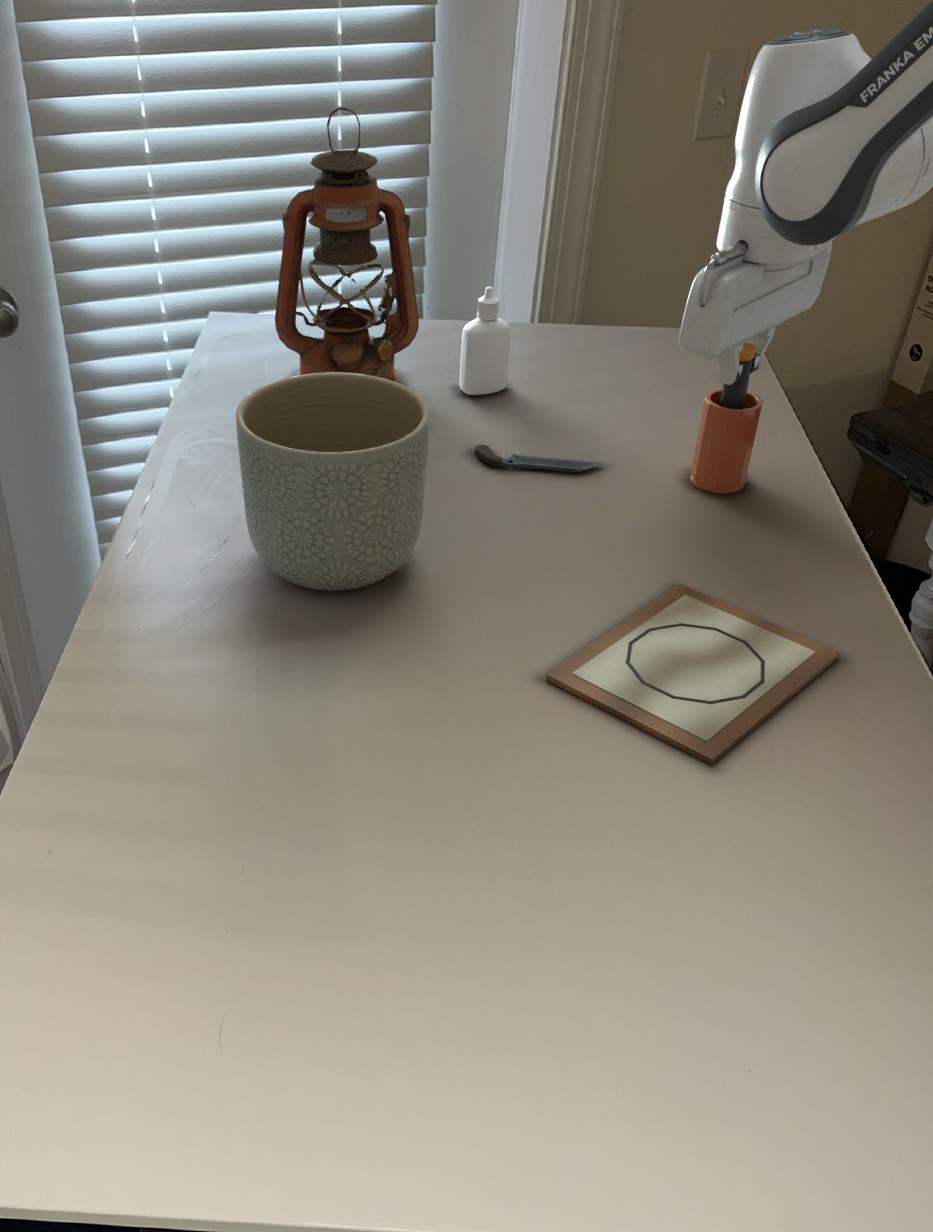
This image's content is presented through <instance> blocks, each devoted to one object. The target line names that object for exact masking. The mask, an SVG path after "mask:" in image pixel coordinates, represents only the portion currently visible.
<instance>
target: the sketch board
mask: <svg viewBox="0 0 933 1232" xmlns="http://www.w3.org/2000/svg"><path fill="white" fill-rule="evenodd" d="M840 655H841V652H840V651H838V650H835V649H833V648H831V647H829V646H826V645H823V644H822V643H819V642H817V641H814V640H812V639H809V638H807V637H805V636H803V635H800V634H798V633H796V632H794V631H791V630H789V629H786V628H784V627H782V626H780V625H777V624H775V623H773V622H770V621H768V620H765V619H764V618H761V617H759V616H757V615H754V614H752V613H749V612H747V611H745V610H742V609H740V608H738V607H735V606H733V605H731V604H729V603H727V602H724V601H722V600H720V599H717V598H714V597H712V596H710V595H708V594H705V593H703V592H701V591H699V590H696V589H694V588H691V587H689V586H687V585H684V584H682V583H679V584H678V585H676V586H674V587H673V588H671V589H669V591H667V592H665V593H664V594H662V595H661V596H660V597H658V598H656V599H655V600H654V601H652V602H651V603H649V604H648V605H646V606H645V607H643V608H642V609H641V610H639V611H637V612H636V613H635V614H633V615H632V616H630V617H628V618H627V619H626V620H624V621H623V622H621V623H619V624H618V625H617V626H615V627H614V628H613V629H611V630H610V631H608V632H606V633H605V634H604V635H602V636H600V637H599V638H597V639H596V640H595V641H593V642H592V643H591V644H589V645H587V646H586V647H585V648H583V649H582V650H580V651H578V652H577V653H575V655H572V656H571V657H570V658H569V659H566V661H564V662H562V663H561V664H560V665H558V666H557V667H555V668H554V669H552V670H551V671H549V672H548V673H546V674H545V675H546V676H545V680H546V681H547V682H549V683H551V684H553V685H555V686H557V687H559V688H561V689H563V690H565V691H566V692H569V693H571V694H573V695H575V696H577V697H579V698H581V699H582V700H584V701H586V702H588V703H590V704H591V705H594V706H596V707H598V708H599V709H602V710H604V711H606V712H608V713H609V714H612V715H613V716H615V717H618V718H619V719H622V720H623V721H625V722H627V723H629V724H631V725H633V726H635V727H637V728H639V729H641V730H642V731H645V732H647V733H648V734H650V735H653V736H654V737H656V738H658V739H660V740H662V741H664V742H665V743H668V744H670V745H672V746H674V747H676V748H678V749H679V750H682V751H683V752H685V753H688V754H689V755H691V756H693V757H695V758H697V759H699V760H701V761H702V762H704V763H707V764H709V765H714V764H715V763H716V762H717V761H718V760H719V759H721V758H722V757H723V756H724V755H725V754H726V753H728V752H729V751H730V750H731V749H733V747H735V746H736V745H737V744H738V743H739V742H741V741H742V740H743V739H745V737H747V736H748V735H749V734H750V733H752V732H753V730H755V729H756V728H757V727H759V726H760V725H761V724H762V723H763V722H765V720H767V719H768V718H769V717H771V716H772V715H773V714H774V713H775V712H776V711H777V710H778V709H780V708H781V707H782V706H783V705H784V704H786V703H787V702H788V701H790V700H791V699H792V698H793V697H794V696H795V695H796V694H798V693H799V692H800V691H801V690H802V689H804V688H805V687H806V686H807V685H808V684H810V683H811V682H812V681H813V680H815V678H817V677H818V676H819V675H820V674H822V673H823V672H824V671H825V670H826V669H827V668H828V667H830V666H831V665H832V664H833V663H835V662H836V661H837V660H838V659H839V658H840Z"/></svg>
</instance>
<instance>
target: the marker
mask: <svg viewBox="0 0 933 1232" xmlns="http://www.w3.org/2000/svg"><path fill="white" fill-rule="evenodd" d="M754 352H755V346H754V345H752V344H750V343H747V341H746V342H744V344H743V349H742V351H740V352H739V363H741V364H743V369H742V372H741V378H740V379H739V380H738V381H736V382H735V383H733V384H731V385H727V384H724V383H722V387H721V388H722V394H721V400H720V406H721V407H725V408H730V409H744V405H745V399H746V394H747V391H748V387H749V381H750V376H751V373H750V371H751V366H752V360H753V357H754Z"/></svg>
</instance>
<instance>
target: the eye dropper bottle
mask: <svg viewBox="0 0 933 1232" xmlns="http://www.w3.org/2000/svg"><path fill="white" fill-rule="evenodd" d="M494 295H495V294H494V288H493V286H486V288H485V290H484V295H483V296H481V297H479V298H478V299H477V310H476V311H477V312H476V318H475V319H473V320H471V321H470V322H468V323H467V324H466V325H465V326H464V327H463V328H462V334H461V346H460V347H461V349H460V361H459V367H460V368H459V383H458V385H459V389H460V390H461V391H462V392H463V393H464V394H466V395H468V396H482V395H489V394H493V393H496V392H500V391H502V390H504V389H505V388H506V387H507V382H508V373H509V372H508V371H509V360H510V359H509V357H510V348H511V347H510V346H511V345H510V344H511V325H510V324H509V322H507V321H506V320H504V319H503V318H500V317H499V311H500V310H499V308H500V299H499V298H498V297H496V296H494Z"/></svg>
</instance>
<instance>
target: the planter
mask: <svg viewBox="0 0 933 1232" xmlns="http://www.w3.org/2000/svg"><path fill="white" fill-rule="evenodd" d="M235 423H236V436H237V437H236V438H237V446H238V457H239V467H240V474H241V484H242V492H243V493H242V494H243V503H244V514H245V519H246V526H247V532H248V535H249V538H250V539H249V540H250V541H251V544H252V547H253V549H254V551H255V552H256V554H257V556H258V557H259V558H260V560H261V561H262V562H263V563H264V564H265V565H266V566H267V567H268V568H269V570H272V571H273V572H274V573H275V574H276V575H278V576H280V577H281V578H283V579H285V580H287V581H288V582H291V583H292V584H295V585H297V586H300V587H303V588H308V589H311V590H316V591H327V592H342V591H351V590H357V589H360V588H361V589H362V588H365V587H367V586H370V585H373V584H376V583H378V582H380V581H381V580H383V579H385V578H387V577H388V576H390V575H391V574H392V573H394V572H395V571H397V570H398V569H399V568H401V566H402V565H403V564H404V563H405V562H406V561H407V560H408V559H409V557H410V556H411V554H412V553H413V551H414V549H415V547H416V544H417V542H418V539H419V536H420V532H421V529H422V528H421V527H422V521H423V514H424V500H425V499H424V498H425V487H426V485H425V484H426V474H427V462H428V461H427V460H428V449H429V435H430V409H429V406H428V404H427V402H426V401H425V399H424V398H423V397H422V396H421V395H420V394H419V393H417V392H416V391H414V390H413V389H411V388H409V387H408V386H406V385H404V384H401V383H400V384H399V383H397V382H394V381H391V380H388V379H384V378H380V377H375V376H370V375H364V374H355V373H314V374H305V375H299V376H296V375H294V376H290V377H289V376H288V377H285V378H282V379H277V380H275V381H272V382H269V383H267V384H264V385H262V386H260V387H258V388H256V389H255V390H253V391H251V392H250V393H248V394H247V395H246V396H245V397H243V399H242V400H241V401H240V403H239V404H238V406H237V409H236V412H235Z"/></svg>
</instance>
